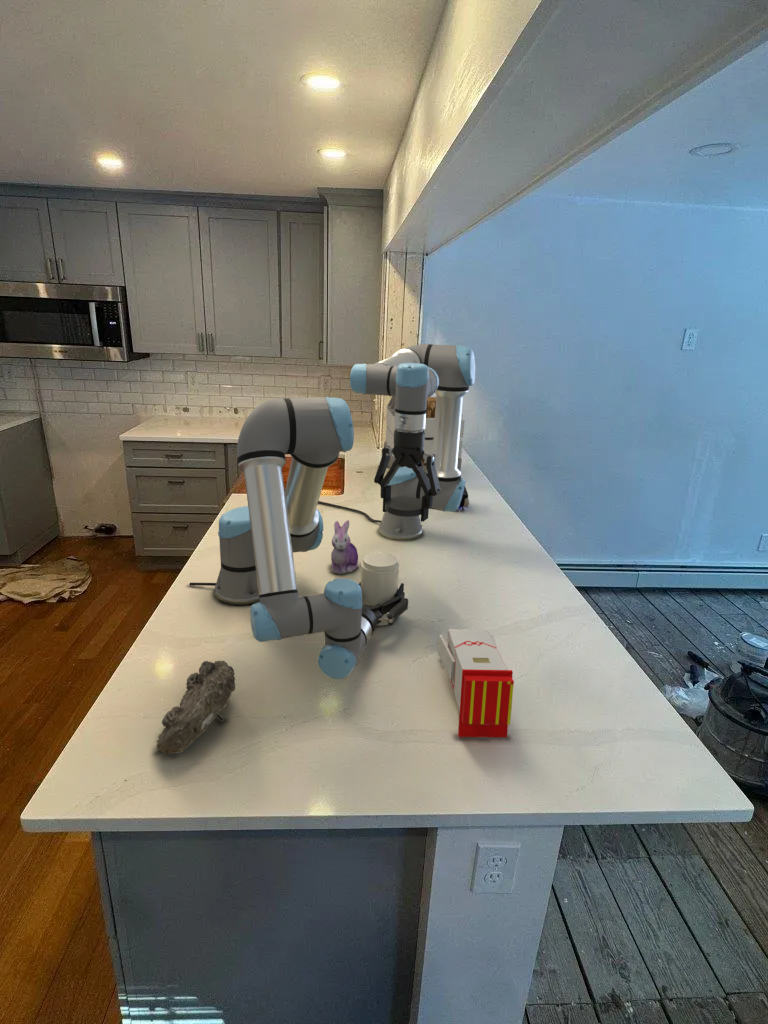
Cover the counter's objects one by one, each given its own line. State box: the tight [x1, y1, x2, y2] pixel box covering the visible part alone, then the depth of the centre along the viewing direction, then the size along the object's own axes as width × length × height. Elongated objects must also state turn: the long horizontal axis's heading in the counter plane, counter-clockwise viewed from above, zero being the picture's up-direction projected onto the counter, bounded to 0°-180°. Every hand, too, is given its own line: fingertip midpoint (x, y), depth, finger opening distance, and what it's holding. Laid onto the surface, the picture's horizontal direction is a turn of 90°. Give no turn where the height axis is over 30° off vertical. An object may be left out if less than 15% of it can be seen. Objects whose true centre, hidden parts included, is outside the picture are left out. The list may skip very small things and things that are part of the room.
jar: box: [360, 551, 400, 627], centre depth 143 cm, size 9×9×16 cm
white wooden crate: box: [383, 396, 465, 473], centre depth 268 cm, size 34×33×41 cm
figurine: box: [330, 519, 359, 575], centre depth 169 cm, size 9×10×15 cm
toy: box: [437, 628, 515, 738], centre depth 117 cm, size 12×13×30 cm
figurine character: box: [455, 486, 470, 512], centre depth 229 cm, size 7×8×15 cm
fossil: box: [156, 660, 236, 755], centre depth 106 cm, size 22×10×15 cm
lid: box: [385, 496, 422, 517], centre depth 144 cm, size 10×10×2 cm
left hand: (383, 584), depth 148 cm, fingers closed on jar, 9 cm apart
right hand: (405, 515), depth 145 cm, fingers closed on lid, 10 cm apart
